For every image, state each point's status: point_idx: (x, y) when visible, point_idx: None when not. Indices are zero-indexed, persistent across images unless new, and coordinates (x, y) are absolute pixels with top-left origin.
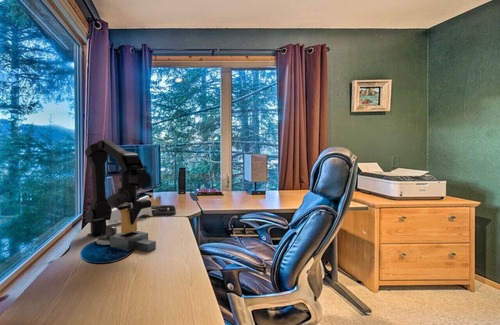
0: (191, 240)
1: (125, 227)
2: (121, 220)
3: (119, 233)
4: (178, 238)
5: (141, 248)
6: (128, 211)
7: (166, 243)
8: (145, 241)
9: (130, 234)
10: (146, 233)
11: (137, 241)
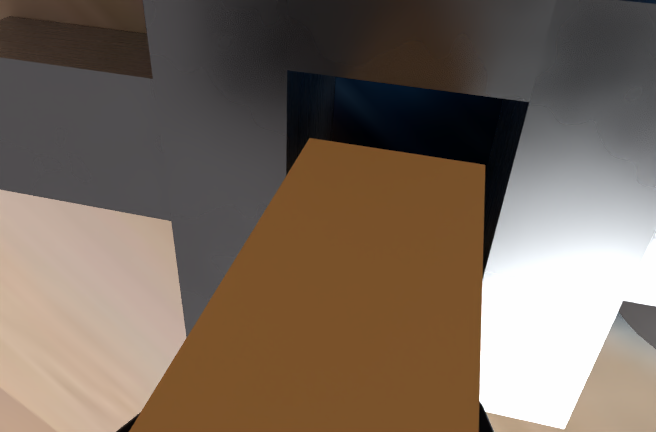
0: (10, 392)
1: (312, 215)
2: (461, 389)
3: (627, 233)
4: (132, 418)
5: (94, 38)
6: None
7: (104, 300)
8: (62, 138)
9: None
10: (189, 325)
11: (151, 101)
